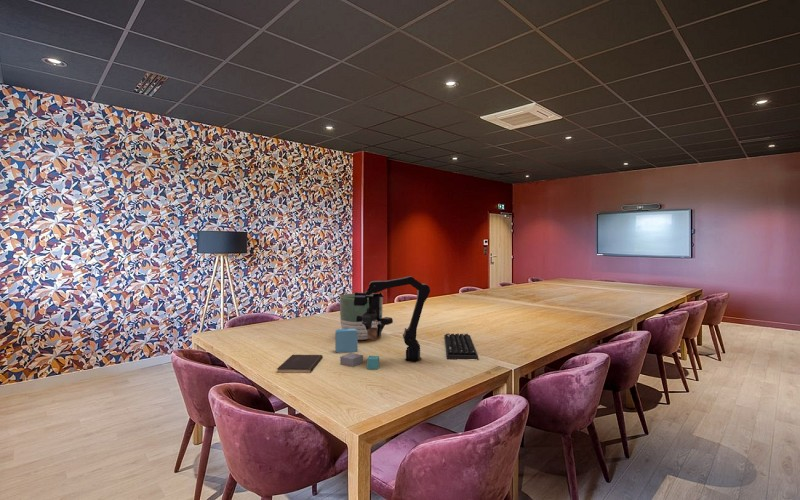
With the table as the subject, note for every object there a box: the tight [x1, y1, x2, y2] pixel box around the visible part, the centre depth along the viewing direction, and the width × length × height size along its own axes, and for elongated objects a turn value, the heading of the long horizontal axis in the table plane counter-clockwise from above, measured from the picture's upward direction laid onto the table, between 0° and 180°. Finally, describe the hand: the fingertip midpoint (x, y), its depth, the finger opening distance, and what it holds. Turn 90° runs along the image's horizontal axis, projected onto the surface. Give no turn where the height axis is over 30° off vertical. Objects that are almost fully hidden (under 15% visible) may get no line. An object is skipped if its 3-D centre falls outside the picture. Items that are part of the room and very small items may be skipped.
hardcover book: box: [276, 354, 324, 374], centre depth 190 cm, size 16×23×2 cm
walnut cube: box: [366, 327, 382, 341], centre depth 196 cm, size 5×5×5 cm
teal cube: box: [366, 355, 380, 370], centre depth 185 cm, size 5×5×5 cm
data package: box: [334, 328, 359, 354], centre depth 214 cm, size 12×4×12 cm, turn 100°
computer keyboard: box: [443, 333, 479, 360], centre depth 220 cm, size 45×16×4 cm, turn 175°
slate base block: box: [339, 352, 364, 368], centre depth 192 cm, size 8×8×4 cm
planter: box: [339, 292, 384, 341], centre depth 242 cm, size 27×27×27 cm
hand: (374, 336), depth 196 cm, fingers closed on walnut cube, 5 cm apart
